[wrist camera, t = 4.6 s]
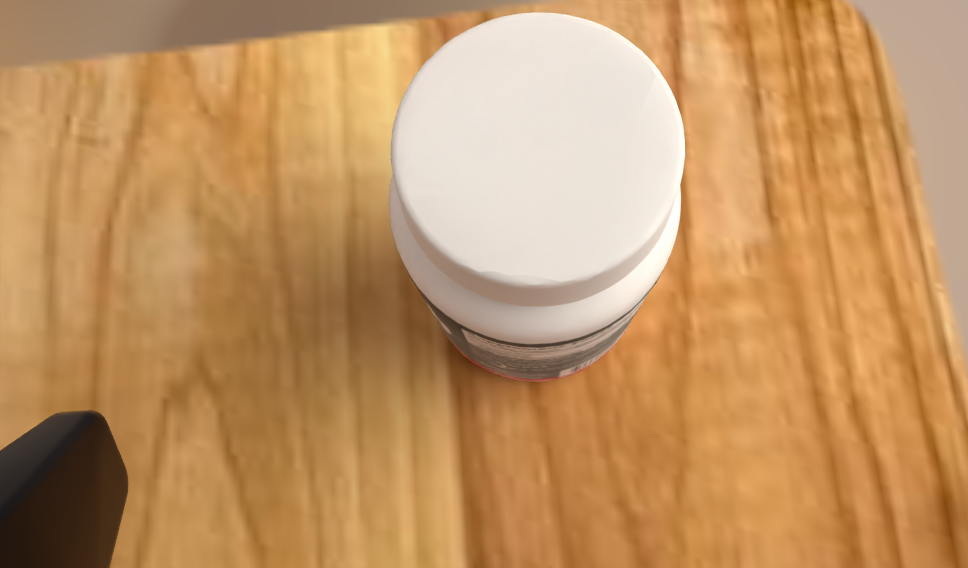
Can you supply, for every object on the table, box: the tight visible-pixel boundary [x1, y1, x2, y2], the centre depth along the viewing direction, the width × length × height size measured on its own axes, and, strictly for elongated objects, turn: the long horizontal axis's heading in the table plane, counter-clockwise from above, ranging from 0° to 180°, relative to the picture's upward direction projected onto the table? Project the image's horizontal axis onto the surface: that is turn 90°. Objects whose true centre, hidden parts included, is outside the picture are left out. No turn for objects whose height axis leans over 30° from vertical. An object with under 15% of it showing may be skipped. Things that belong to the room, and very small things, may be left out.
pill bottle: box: [389, 12, 685, 381], centre depth 16 cm, size 5×5×8 cm
